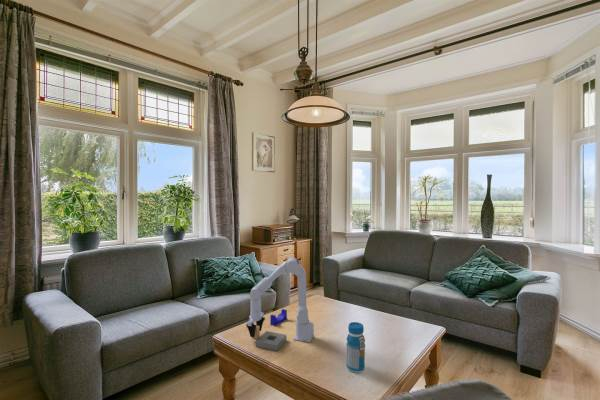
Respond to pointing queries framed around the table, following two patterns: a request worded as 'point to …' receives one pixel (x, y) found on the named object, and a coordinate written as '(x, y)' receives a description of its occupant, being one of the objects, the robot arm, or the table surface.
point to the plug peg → (257, 332)
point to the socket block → (271, 340)
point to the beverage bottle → (355, 348)
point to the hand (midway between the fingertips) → (255, 333)
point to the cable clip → (278, 318)
